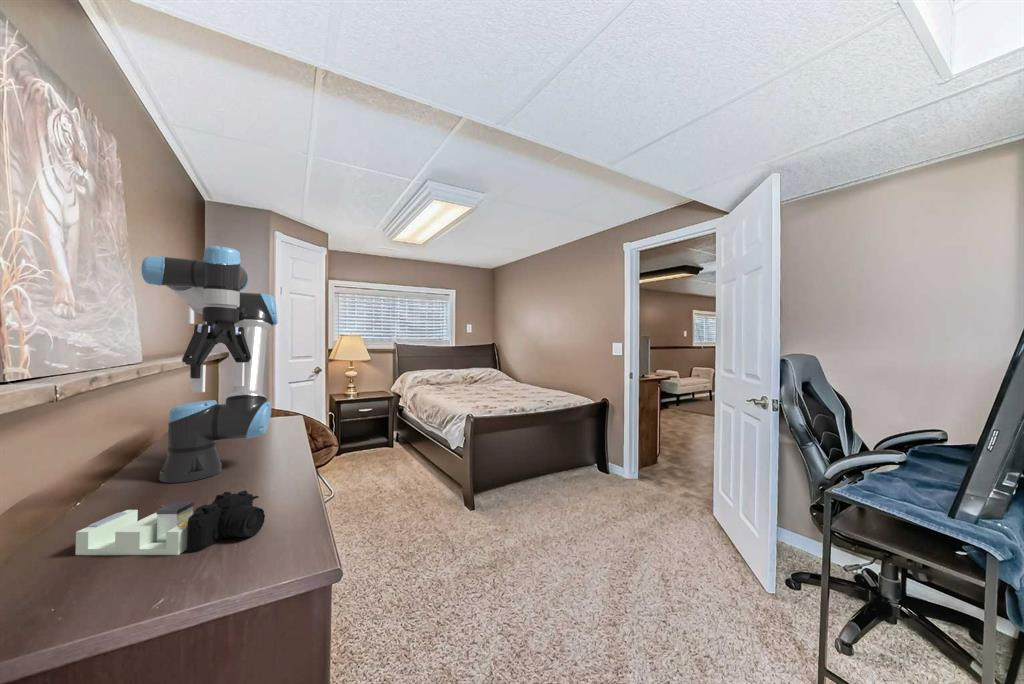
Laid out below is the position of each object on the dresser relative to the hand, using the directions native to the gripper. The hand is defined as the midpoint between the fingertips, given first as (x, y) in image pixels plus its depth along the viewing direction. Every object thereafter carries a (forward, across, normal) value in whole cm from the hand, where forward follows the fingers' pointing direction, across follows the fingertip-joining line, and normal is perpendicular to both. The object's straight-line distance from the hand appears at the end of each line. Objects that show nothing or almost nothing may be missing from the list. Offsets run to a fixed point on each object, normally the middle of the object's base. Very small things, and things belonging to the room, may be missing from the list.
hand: (219, 388), depth 96 cm
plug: (+30, +17, +4) cm, 35 cm away
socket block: (+31, +17, -1) cm, 35 cm away
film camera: (+31, +14, +14) cm, 37 cm away
